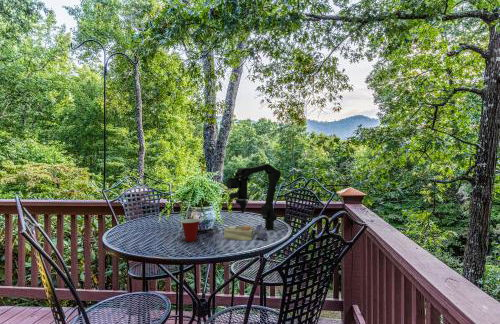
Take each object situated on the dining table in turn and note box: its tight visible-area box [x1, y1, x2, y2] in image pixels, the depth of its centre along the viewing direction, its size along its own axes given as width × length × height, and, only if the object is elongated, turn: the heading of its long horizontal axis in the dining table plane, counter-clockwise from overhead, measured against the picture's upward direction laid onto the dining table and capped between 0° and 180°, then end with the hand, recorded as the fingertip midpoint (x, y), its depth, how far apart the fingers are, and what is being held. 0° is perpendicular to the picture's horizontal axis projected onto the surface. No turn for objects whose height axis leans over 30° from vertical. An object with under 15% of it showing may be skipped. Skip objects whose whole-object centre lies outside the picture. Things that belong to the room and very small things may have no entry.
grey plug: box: [229, 225, 236, 230], centre depth 187 cm, size 4×4×5 cm
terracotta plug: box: [242, 224, 251, 230], centre depth 186 cm, size 4×4×5 cm
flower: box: [252, 223, 268, 240], centre depth 183 cm, size 9×9×10 cm
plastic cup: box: [180, 218, 201, 243], centre depth 180 cm, size 11×11×12 cm
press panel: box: [223, 225, 255, 241], centre depth 187 cm, size 12×16×5 cm
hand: (242, 212), depth 194 cm, fingers closed
